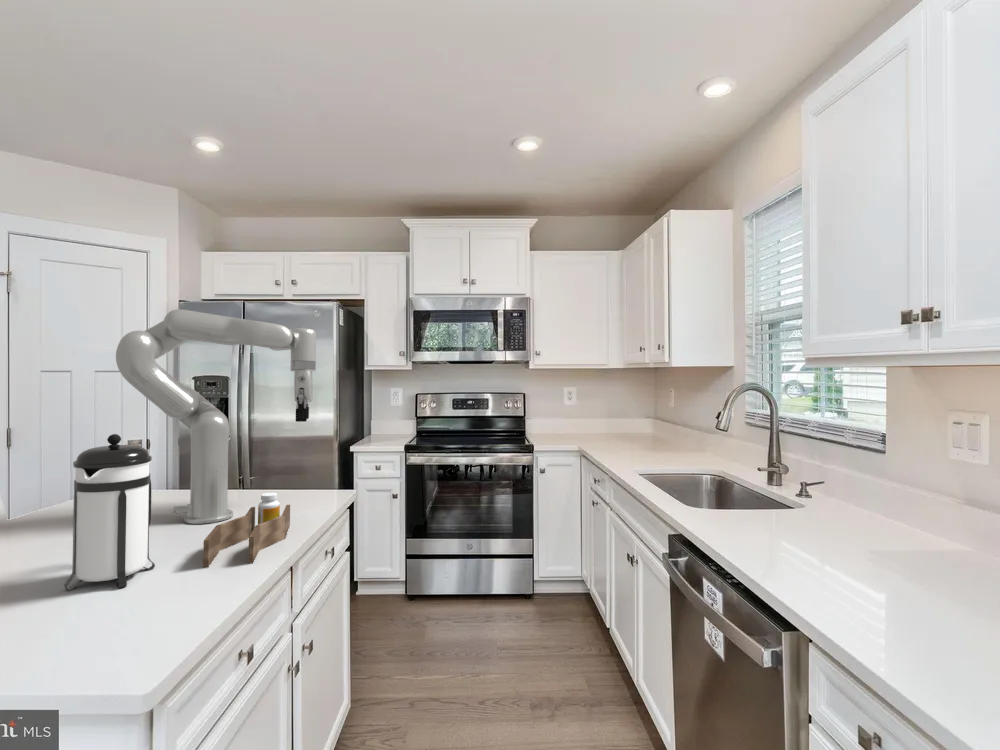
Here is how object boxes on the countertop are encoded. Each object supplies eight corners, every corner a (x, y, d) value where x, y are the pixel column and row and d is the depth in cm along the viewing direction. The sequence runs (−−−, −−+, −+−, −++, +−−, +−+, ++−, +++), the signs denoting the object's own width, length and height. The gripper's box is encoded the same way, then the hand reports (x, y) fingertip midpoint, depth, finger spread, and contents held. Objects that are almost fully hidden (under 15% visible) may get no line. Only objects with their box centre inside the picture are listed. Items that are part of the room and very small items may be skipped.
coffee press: (169, 577, 103) (172, 434, 104) (69, 601, 92) (72, 440, 92) (149, 556, 115) (151, 427, 115) (58, 575, 104) (60, 432, 104)
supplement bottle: (283, 527, 137) (284, 492, 137) (268, 533, 132) (269, 497, 132) (268, 525, 139) (269, 491, 139) (253, 531, 134) (253, 495, 134)
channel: (203, 567, 109) (203, 540, 109) (230, 530, 135) (231, 508, 135) (277, 561, 113) (277, 534, 113) (289, 525, 140) (290, 504, 140)
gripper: (314, 366, 151) (313, 422, 151) (316, 367, 168) (316, 417, 168) (287, 366, 149) (286, 422, 149) (293, 367, 166) (292, 418, 166)
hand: (302, 420), depth 158 cm, fingers open, 9 cm apart
